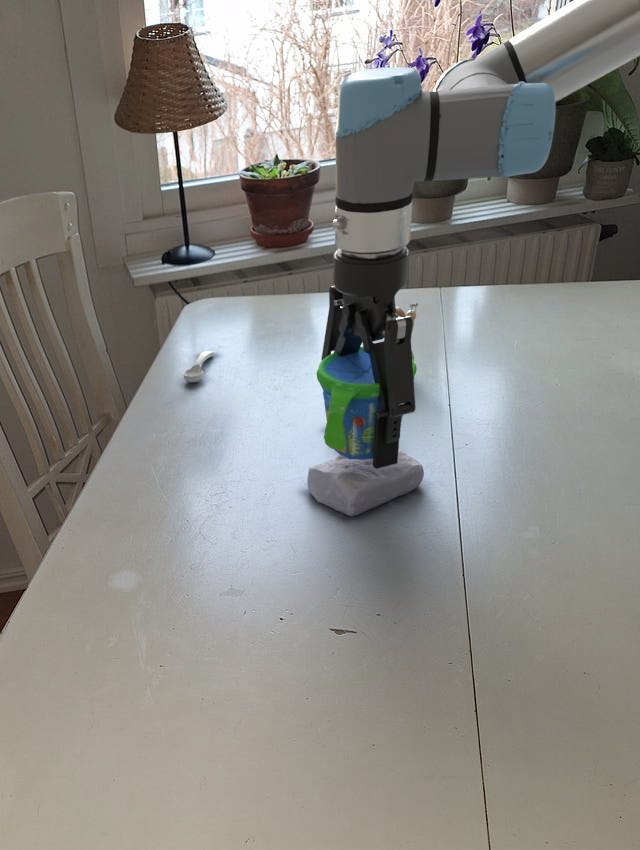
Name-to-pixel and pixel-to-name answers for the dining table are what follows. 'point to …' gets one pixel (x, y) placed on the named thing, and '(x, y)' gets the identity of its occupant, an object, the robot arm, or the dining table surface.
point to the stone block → (362, 482)
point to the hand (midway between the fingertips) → (362, 445)
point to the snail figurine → (409, 313)
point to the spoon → (197, 367)
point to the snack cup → (350, 403)
